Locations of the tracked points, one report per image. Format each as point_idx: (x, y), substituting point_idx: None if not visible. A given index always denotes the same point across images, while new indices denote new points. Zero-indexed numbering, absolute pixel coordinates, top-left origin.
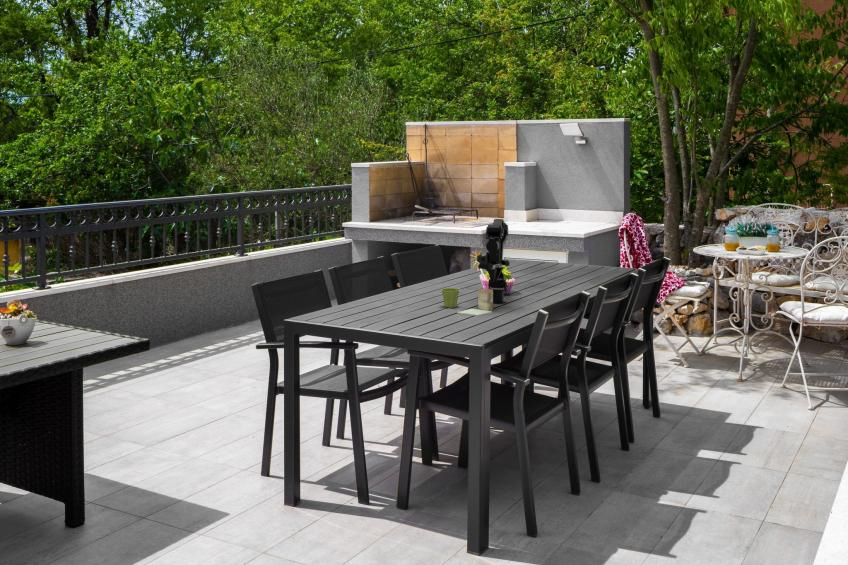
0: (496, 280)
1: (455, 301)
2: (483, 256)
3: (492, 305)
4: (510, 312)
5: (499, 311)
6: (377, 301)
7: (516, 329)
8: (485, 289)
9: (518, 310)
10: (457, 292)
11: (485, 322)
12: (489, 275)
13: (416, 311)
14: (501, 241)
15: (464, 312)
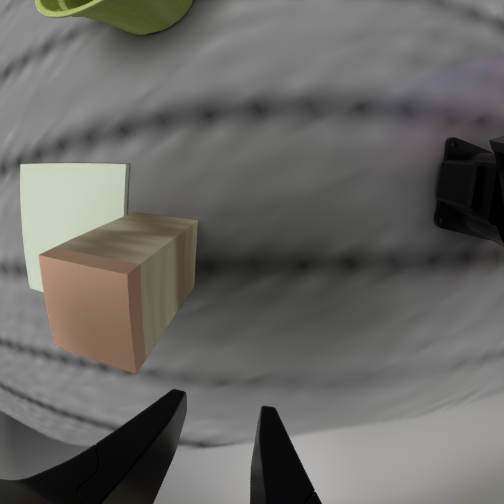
0: (255, 442)
1: (122, 26)
2: None
3: (182, 300)
4: (192, 387)
5: (180, 336)
6: None
7: (25, 424)
8: (97, 306)
9: (269, 401)
10: (88, 11)
11: (3, 348)
12: (93, 450)
13: (9, 16)
14: None
15: (29, 202)
